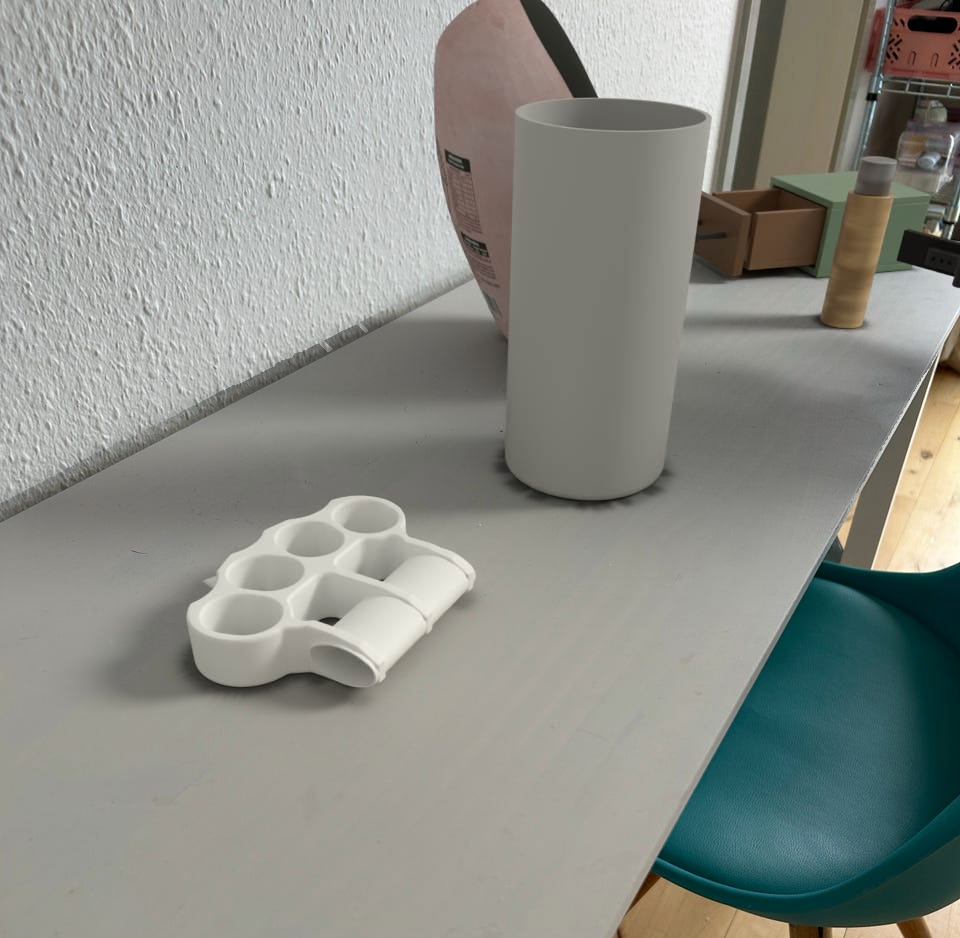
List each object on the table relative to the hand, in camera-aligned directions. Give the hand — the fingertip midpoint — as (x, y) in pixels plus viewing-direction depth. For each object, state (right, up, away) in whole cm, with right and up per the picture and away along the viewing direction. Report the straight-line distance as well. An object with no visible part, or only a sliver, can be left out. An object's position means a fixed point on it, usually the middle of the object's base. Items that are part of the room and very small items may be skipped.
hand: (944, 234), depth 94 cm
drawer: (-13, +8, +27) cm, 31 cm away
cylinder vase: (-36, -25, -16) cm, 47 cm away
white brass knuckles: (-54, -37, -32) cm, 73 cm away
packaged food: (-39, -11, +4) cm, 40 cm away
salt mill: (-5, -4, +12) cm, 14 cm away
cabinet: (+1, +10, +32) cm, 33 cm away
